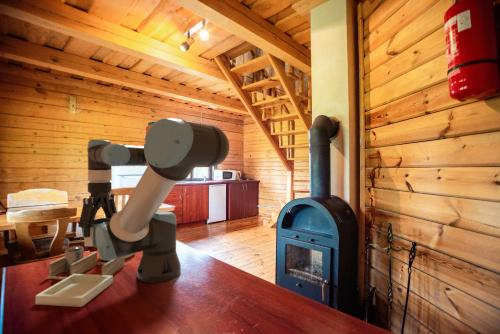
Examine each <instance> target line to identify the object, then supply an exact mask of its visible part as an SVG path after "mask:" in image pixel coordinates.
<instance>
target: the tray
mask: <svg viewBox="0 0 500 334" xmlns="http://www.w3.org/2000/svg"><path fill="white" fill-rule="evenodd" d="M66 277H67V278H66V279H64V280H63V279H61V280H60V281H58V282H57V283H55V284H53V285H52V286H49V287H48V288H46V289H45V290H43V291H41V292H39V293H38V294H35V305H40V306H41V305H42V306H43V305H44V306H61V307H74V308H75V307H79V308H82V307H84V306H85V305H86V304H88V303H89V302H90V301H91V300H93V299H94V298H96V296H98V295H99V294H100V293H101V292H103V291H105V290H106V289H107V288H108V287H110V286H111V285H113V283H114V275H102V274H89V273H88V274H87V273H85V274H84V273H82V274H73V275H71V276H70V275H69V276H66Z"/></svg>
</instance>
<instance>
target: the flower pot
mask: <svg viewBox="0 0 500 334" xmlns="http://www.w3.org/2000/svg"><path fill="white" fill-rule="evenodd" d="M110 220H111V219H108V218H106V217H99V218H96V219H94V221H93V224H92V226H91V227H93V246H92V247H95V248H97V244H96V236H95V232H96V227H97V226H98V225H99V224H101V223H103V222H105V223H107V222H109V221H110ZM88 224H89V223H88ZM81 234H82V237H83V239H84V228H81Z"/></svg>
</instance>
